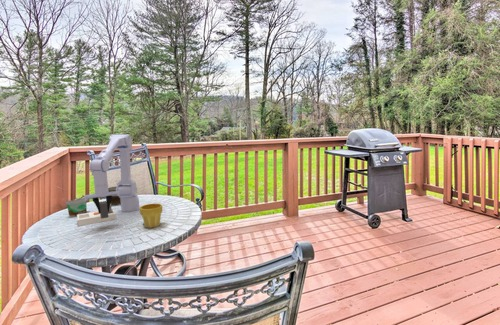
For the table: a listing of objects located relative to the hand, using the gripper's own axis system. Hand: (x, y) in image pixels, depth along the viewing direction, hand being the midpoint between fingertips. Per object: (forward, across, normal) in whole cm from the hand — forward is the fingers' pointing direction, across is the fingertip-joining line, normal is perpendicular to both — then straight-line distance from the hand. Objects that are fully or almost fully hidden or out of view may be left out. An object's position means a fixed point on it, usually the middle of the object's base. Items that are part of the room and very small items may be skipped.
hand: (103, 212), depth 138 cm
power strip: (+8, -2, +13) cm, 15 cm away
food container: (+8, -9, +29) cm, 31 cm away
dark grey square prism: (+2, 0, 0) cm, 2 cm away
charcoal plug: (+7, +3, +13) cm, 15 cm away
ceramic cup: (+8, +9, +42) cm, 44 cm away
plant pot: (+8, +20, -9) cm, 23 cm away
